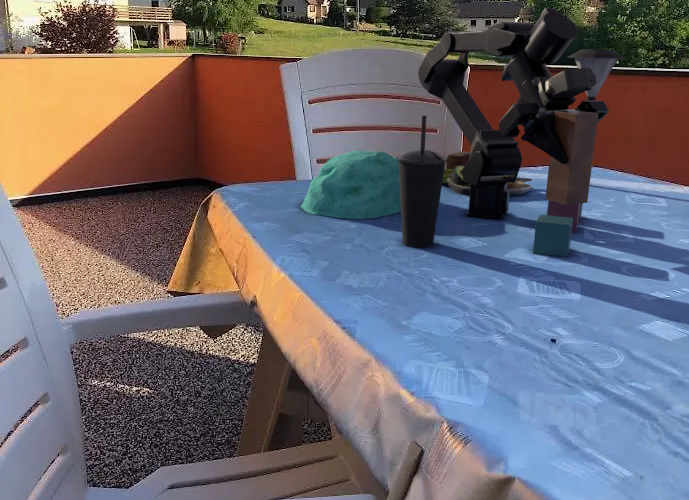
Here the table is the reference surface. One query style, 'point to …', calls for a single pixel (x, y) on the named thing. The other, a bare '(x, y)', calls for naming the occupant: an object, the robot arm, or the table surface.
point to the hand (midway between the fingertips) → (577, 161)
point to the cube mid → (565, 212)
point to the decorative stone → (356, 186)
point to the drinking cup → (420, 193)
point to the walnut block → (572, 157)
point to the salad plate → (464, 187)
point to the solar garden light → (596, 66)
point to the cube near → (552, 235)
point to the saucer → (447, 175)
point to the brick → (457, 159)
